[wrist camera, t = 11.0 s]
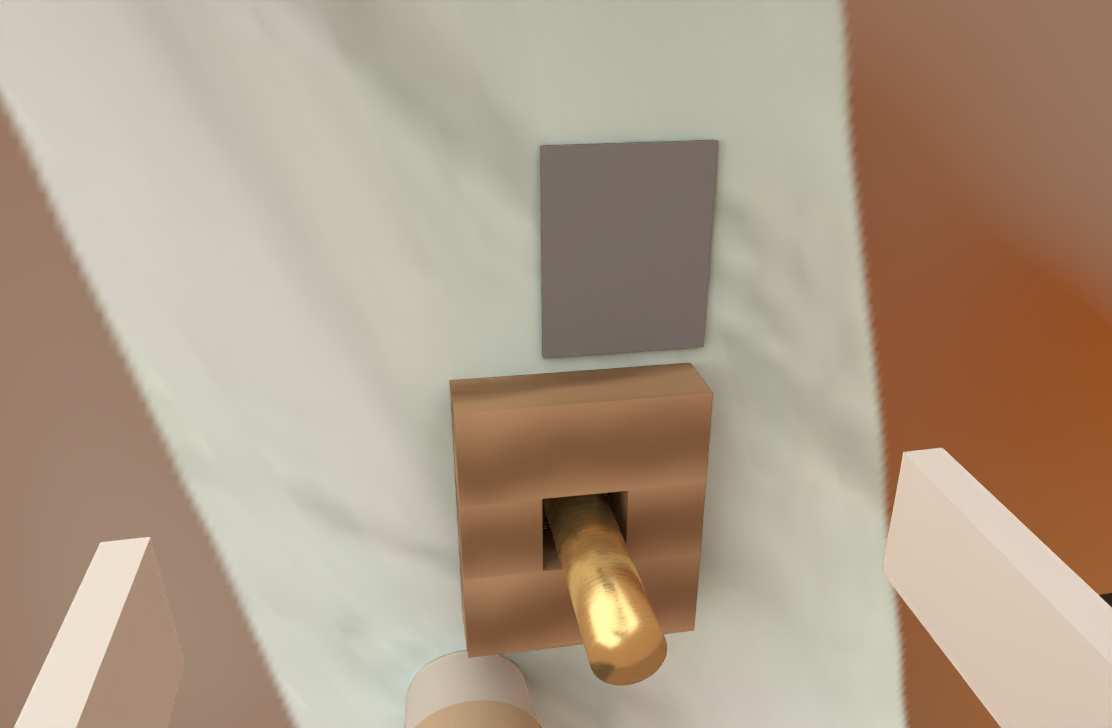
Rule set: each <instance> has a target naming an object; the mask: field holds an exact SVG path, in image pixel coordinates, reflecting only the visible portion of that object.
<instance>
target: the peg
mask: <svg viewBox="0 0 1112 728" xmlns="http://www.w3.org/2000/svg"><path fill="white" fill-rule="evenodd" d="M542 500H543V505H544V508H545V512H546V515H547V519H548V522H549V525H550V529H551V532H552V536H553V539H554V543H555V546H556V549H557V553H558V556H559V560H560V563H561V567H562V570H563V573H564V577H565V580H566V584H567V587H568V591H569V594H570V597H571V601H572V604H573V608H574V611H575V614H576V618H577V621H578V625H579V628H580V632H581V635H582V638H583V642H584V645H585V649H586V652H587V656H588V659H589V662H590V666H591V669H592V671H593V672H594V674H595V675H596V676H597V677H598V678H599V679H601V680H602V681H604V682H606V683H609V684H613V685H629V684H634V683H637V682H640V681H642V680H644V679H646V678H648V677H649V676H651V675H652V674H653V673H655V672H656V671H657V670H658V669H659V667H660V666H661V665H662V663H663V661H664V659H665V657H666V653H667V643H666V640H665V637H664V635H663V632H662V630H661V628H660V625H659V623H658V620H657V618H656V616H655V613H654V611H653V608H652V606H651V603H650V601H649V599H648V596H647V594H646V591H645V589H644V587H643V584H642V582H641V579H640V577H639V575H638V572H637V570H636V567H635V565H634V563H633V560H632V558H631V555H630V553H629V550H628V548H627V546H626V543H625V541H624V538H623V536H622V534H621V531H620V529H619V526H618V524H617V522H616V519H615V517H614V514H613V512H612V510H611V507H610V505H609V502H608V500H607V497H606V495H605V493H599V494H588V495H578V496H568V497H557V498H547V499H542Z"/></svg>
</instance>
